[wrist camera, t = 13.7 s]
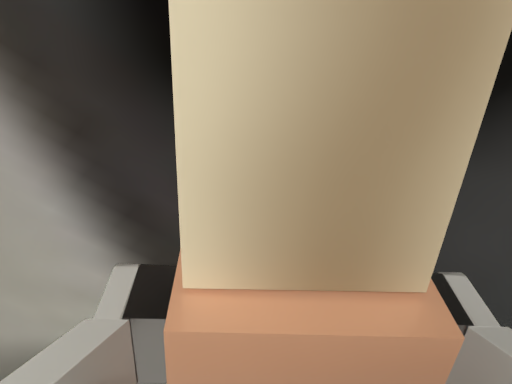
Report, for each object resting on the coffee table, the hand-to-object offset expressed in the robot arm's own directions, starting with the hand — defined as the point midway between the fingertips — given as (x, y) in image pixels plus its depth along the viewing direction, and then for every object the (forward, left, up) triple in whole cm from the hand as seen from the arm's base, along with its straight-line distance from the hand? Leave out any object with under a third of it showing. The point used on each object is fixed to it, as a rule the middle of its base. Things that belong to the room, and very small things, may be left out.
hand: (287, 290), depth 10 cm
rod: (0, +11, -2) cm, 11 cm away
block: (0, -1, -2) cm, 2 cm away
